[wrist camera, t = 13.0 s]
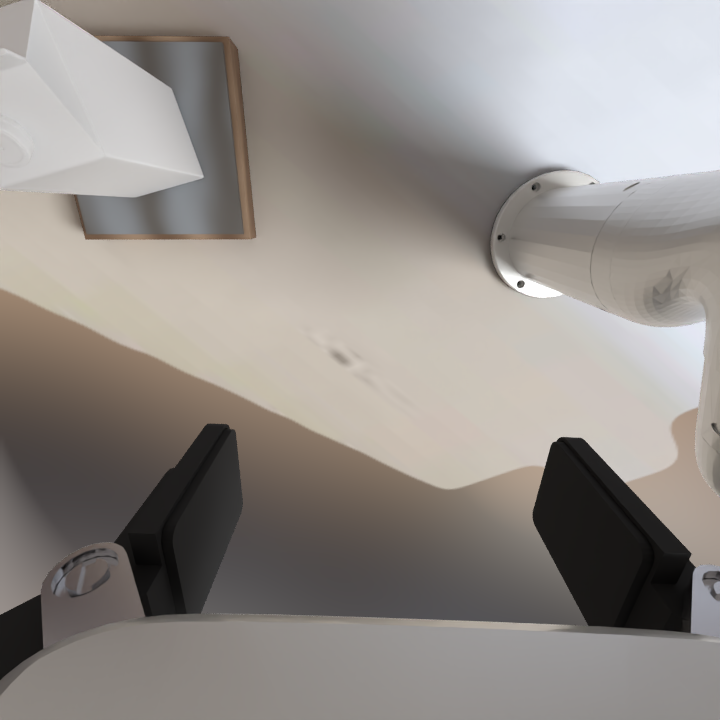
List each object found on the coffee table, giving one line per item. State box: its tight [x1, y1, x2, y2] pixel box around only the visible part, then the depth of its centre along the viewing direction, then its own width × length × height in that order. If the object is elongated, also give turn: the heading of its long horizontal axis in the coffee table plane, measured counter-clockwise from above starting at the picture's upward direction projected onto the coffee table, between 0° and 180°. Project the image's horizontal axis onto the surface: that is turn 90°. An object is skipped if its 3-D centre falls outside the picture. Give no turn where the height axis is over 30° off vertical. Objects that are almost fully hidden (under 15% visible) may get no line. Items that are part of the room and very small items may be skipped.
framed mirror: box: [74, 36, 256, 239], centre depth 35 cm, size 16×16×3 cm
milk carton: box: [0, 0, 204, 197], centre depth 25 cm, size 7×7×19 cm
